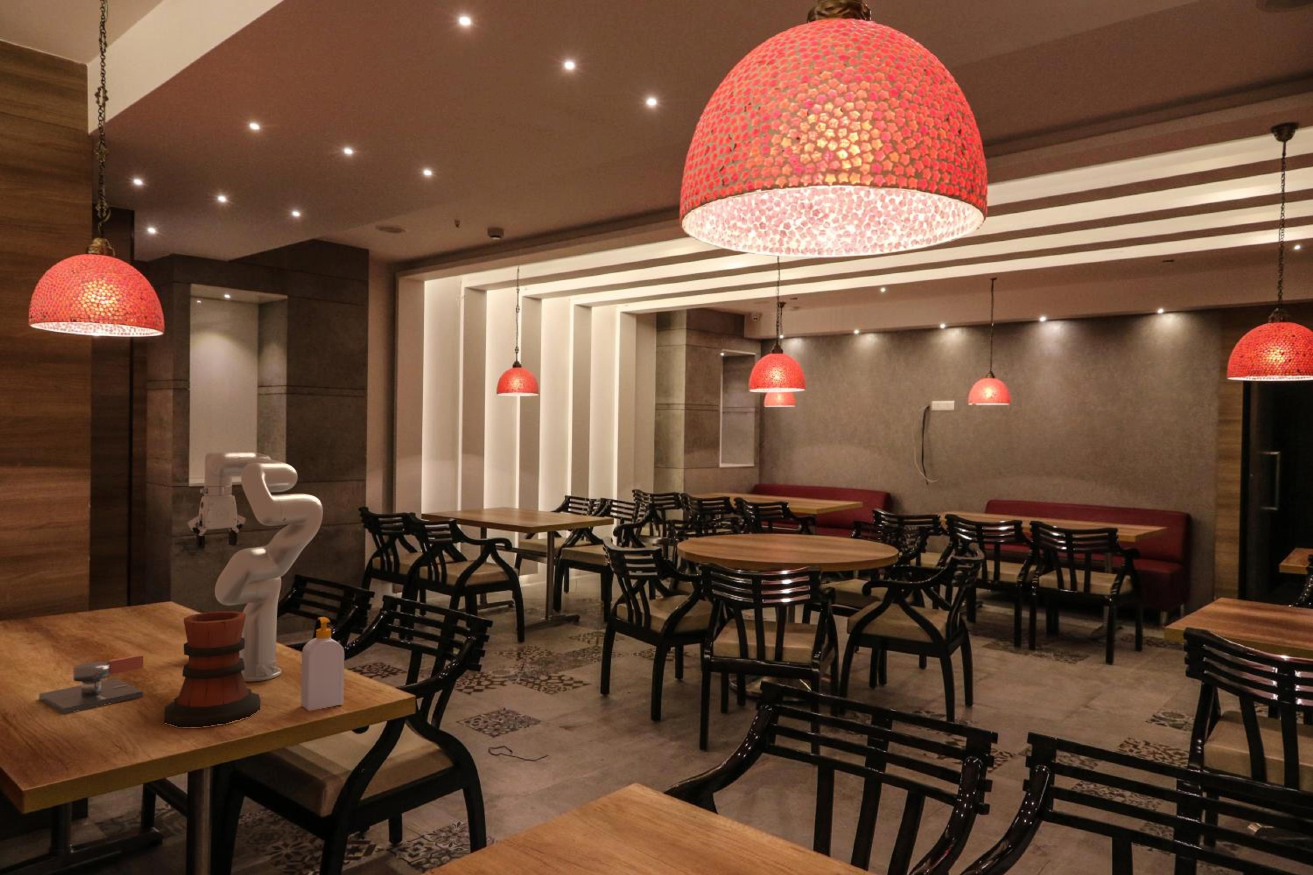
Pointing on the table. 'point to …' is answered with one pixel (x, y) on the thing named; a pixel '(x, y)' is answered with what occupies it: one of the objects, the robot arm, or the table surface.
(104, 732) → the table surface
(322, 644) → the soap bottle
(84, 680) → the red lever handle
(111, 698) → the post base
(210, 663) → the red-brown flared vessel
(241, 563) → the robot arm
